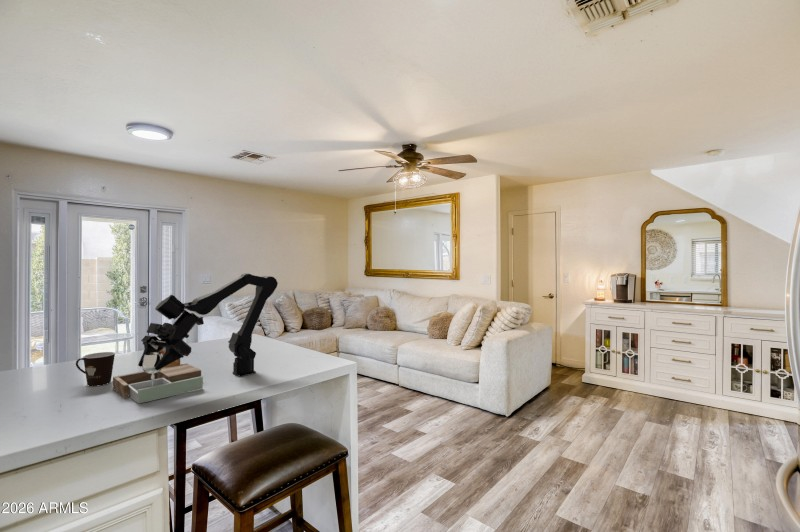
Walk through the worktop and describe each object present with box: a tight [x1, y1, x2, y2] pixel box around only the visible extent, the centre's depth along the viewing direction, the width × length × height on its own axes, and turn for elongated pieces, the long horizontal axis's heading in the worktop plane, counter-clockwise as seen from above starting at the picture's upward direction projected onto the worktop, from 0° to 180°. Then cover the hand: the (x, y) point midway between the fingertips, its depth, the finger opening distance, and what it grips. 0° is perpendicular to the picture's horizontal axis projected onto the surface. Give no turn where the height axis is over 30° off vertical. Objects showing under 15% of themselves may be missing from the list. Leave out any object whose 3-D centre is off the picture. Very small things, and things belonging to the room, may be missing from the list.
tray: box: [129, 375, 204, 404], centre depth 122 cm, size 13×18×4 cm
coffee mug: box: [75, 351, 116, 387], centre depth 130 cm, size 12×9×10 cm
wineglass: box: [141, 352, 163, 387], centre depth 119 cm, size 6×6×12 cm
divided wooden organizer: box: [112, 363, 202, 399], centre depth 128 cm, size 13×23×4 cm, turn 140°
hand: (147, 367), depth 117 cm, fingers open, 8 cm apart
